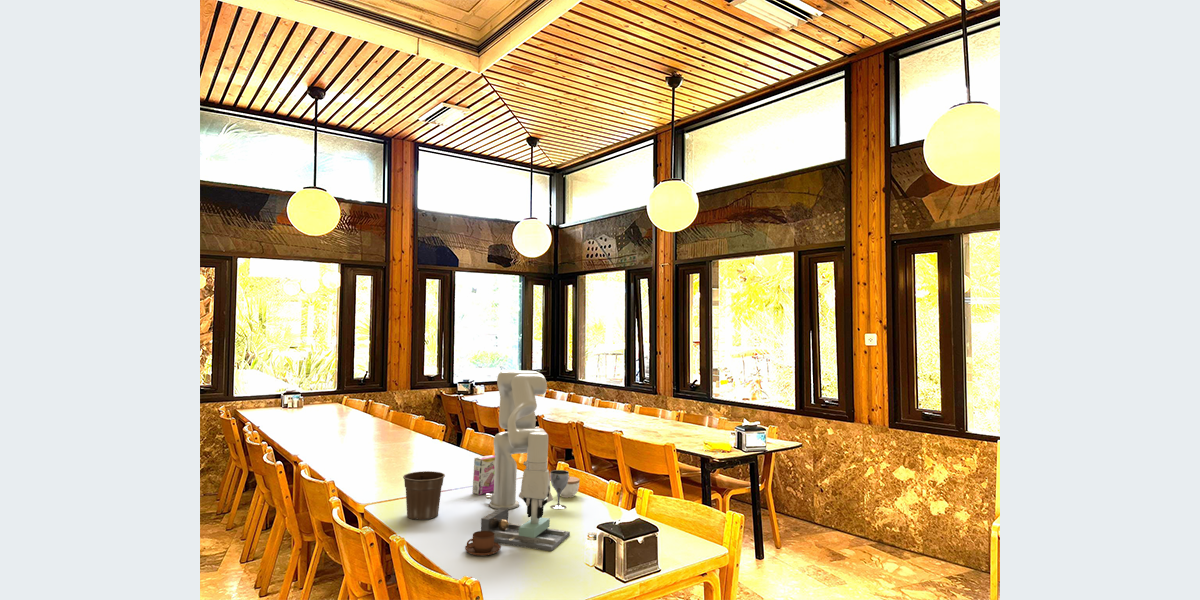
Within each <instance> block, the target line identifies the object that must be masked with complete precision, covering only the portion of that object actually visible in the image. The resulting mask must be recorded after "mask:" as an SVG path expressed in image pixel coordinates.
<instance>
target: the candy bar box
mask: <svg viewBox="0 0 1200 600" xmlns="http://www.w3.org/2000/svg"><path fill="white" fill-rule="evenodd" d="M494 472H495V455H494V454H493V455H492V454H491V455H484V456H479V457H474V460H473V480H472V494H473V495H477V496H481V495H486V494H491V493H494Z"/></svg>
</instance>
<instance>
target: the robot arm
mask: <svg viewBox="0 0 1200 600" xmlns="http://www.w3.org/2000/svg"><path fill="white" fill-rule="evenodd" d="M496 382H497V384H496V385H497V390H498V392H499V397H500V398H499V413H498V425H499V427H500V428H501V429H503V430H506V431H501V432H498V433H496V434H495V436H494V438H493V451H494V456H495V472H494V492H493V494H492V493H486V494H485V500H490V502H489V505H488V506H489V507H490V508H492V509H494V510H495V509H496V510H497V509H499V508H501V507H504V508H509V510H513V509H516V508H518V507H519V505H520V502H519V501H517V500H516V498H517V497H516V494H517V471H518V465H517V462H516V460H515V458H514V457H513V456H512V455H516V454H517V455H518V454H527V455H526V461H523V466H525V469H523V474H522V480H521V486H520V492H519V494H518V497H519V498H520V499H521V500H523V502H524V503H525V505H526V514H527V518H531V501H532V499H539V507H538V509H537V518H538V519H539V518H541V517H542V518H543V516H544V507H545V505H546V504H547V503H550V502H552V501H554V498H553V496H552V493H551V478H550V471H549V469H548V461H549V460H548V459H549V458H548V454H549V452H548V451H549V434H548V433H547V432H546V430H545V429H543V428H541V427H536V421H537V417H536V416H537V415H536V412H535V411H536V410H537V407H538V404H537V399H536V395H537V396H542V395H545V393H546V392H547V388H548V384H547V380H546V377H545V376H544V375H543V374H542V373H541V372H538V371H536V370H502V371H500V372H499V373H498V375H497V379H496Z"/></svg>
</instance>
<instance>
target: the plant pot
mask: <svg viewBox="0 0 1200 600" xmlns="http://www.w3.org/2000/svg"><path fill="white" fill-rule="evenodd" d="M445 476H446V475H445V473H443V472H440V471H429V470H428V471H427V470H426V471H415V472H413V471H412V472H409V473H405V474H404V475H402V478H403V480H404V481H403V482H404V488H405V499H406V501H405V503H406V517H407V518H408V519H411V520H416V519H417V520H420V521H422V520H423V521H424V520H430V519H433V518H434V519H435V518H436V517H437V516H439V511H440V504H441V503H440V502H441V494H442V486H443V484H444V478H445Z"/></svg>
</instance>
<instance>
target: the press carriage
mask: <svg viewBox="0 0 1200 600" xmlns="http://www.w3.org/2000/svg"><path fill="white" fill-rule="evenodd" d="M538 507H539V499H532V501H531V517H530V519H528V521H526V522H525V523H523V524H520V525H521V526H520V527H519V536H524V537H531V538H535V537H536V536H537V535H539V534H540V533H542V532H543V531H544V530H546V529H547V528H550V524H551V523H550V521H551V520H550V518H548V517H543V516H542V517H541V518H539V519H538V518H537V509H538Z"/></svg>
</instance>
